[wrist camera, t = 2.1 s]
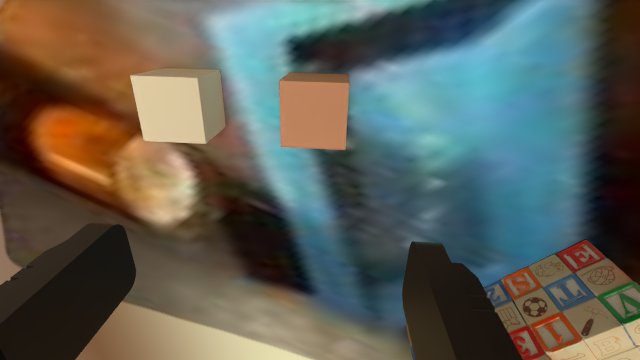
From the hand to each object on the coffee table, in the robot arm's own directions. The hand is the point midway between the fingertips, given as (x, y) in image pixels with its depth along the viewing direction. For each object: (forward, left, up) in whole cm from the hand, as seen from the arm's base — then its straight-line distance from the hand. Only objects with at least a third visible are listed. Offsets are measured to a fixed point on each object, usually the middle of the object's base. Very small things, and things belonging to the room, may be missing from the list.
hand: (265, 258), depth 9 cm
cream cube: (+11, 0, -22) cm, 24 cm away
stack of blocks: (-21, +22, -22) cm, 37 cm away
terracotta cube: (0, 0, -22) cm, 22 cm away
